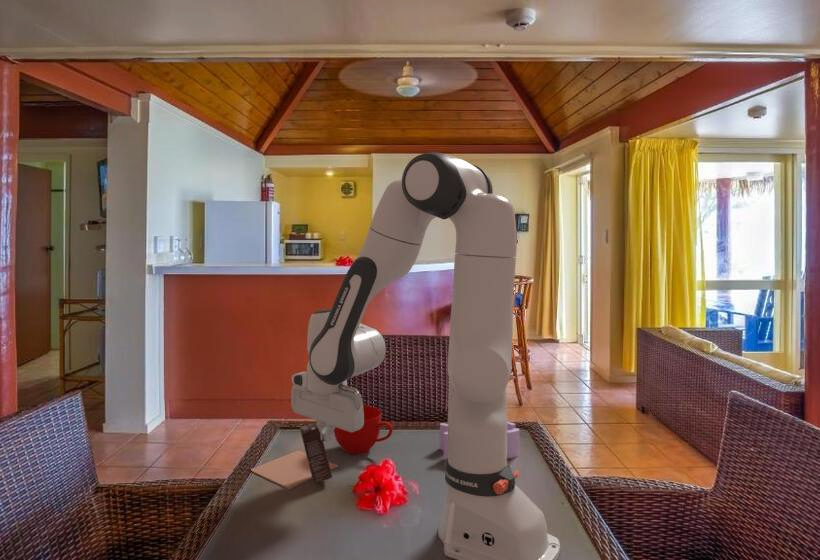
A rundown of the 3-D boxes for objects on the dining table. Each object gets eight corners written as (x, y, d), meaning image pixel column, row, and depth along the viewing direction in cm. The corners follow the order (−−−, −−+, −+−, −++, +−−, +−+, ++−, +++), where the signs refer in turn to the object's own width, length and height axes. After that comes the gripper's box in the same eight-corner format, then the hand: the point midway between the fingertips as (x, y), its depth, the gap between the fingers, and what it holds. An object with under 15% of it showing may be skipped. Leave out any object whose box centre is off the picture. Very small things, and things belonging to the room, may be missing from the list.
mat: (338, 466, 130) (338, 465, 130) (289, 489, 118) (289, 488, 118) (298, 451, 139) (298, 450, 139) (249, 470, 128) (249, 469, 128)
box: (310, 476, 124) (299, 426, 124) (329, 470, 125) (318, 421, 125) (313, 485, 118) (301, 432, 118) (332, 478, 120) (321, 426, 120)
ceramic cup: (379, 466, 130) (379, 426, 130) (322, 454, 138) (322, 416, 137) (403, 447, 142) (403, 411, 141) (349, 437, 149) (349, 402, 149)
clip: (510, 442, 146) (510, 418, 145) (523, 461, 134) (524, 435, 133) (438, 445, 144) (438, 420, 144) (445, 464, 132) (445, 437, 131)
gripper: (371, 386, 114) (369, 448, 115) (307, 369, 127) (307, 426, 128) (350, 392, 109) (349, 457, 110) (286, 374, 122) (286, 433, 123)
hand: (326, 440), depth 119 cm, fingers closed
